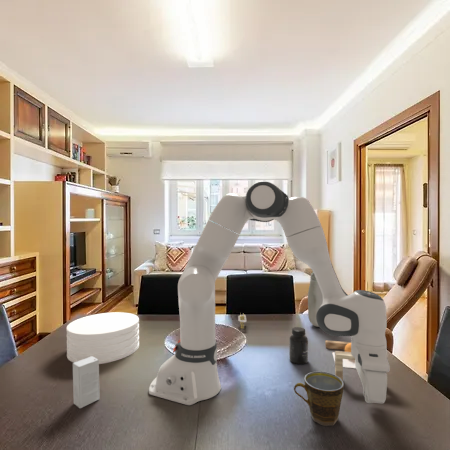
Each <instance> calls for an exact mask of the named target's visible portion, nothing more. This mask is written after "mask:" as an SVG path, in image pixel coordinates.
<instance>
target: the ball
mask: <svg viewBox="0 0 450 450" xmlns="http://www.w3.org/2000/svg"><path fill="white" fill-rule="evenodd" d="M344 352H351V343H348V344H347V345H346V346H345V350H344Z"/></svg>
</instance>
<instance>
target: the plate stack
mask: <svg viewBox="0 0 450 450" xmlns="http://www.w3.org/2000/svg"><path fill="white" fill-rule="evenodd" d="M139 347H140V318H139V316H138V315H136V314H134V313H131V312H123V311H119V312H118V311H117V312H115V311H114V312H113V311H112V312H101V313H96V314H90V315H87V316H84V317H83V316H82V317H80V318H78V319H75V320H73V321H71V322H70V323H68V324H67V325H66V357H67V360H68V361H70V362H71V363H75V362H77V361H80V360H83V359H86V358H88V357H91V356H93V357H95V358H96V359H98V360H99V365H101V364H109V363H111V362H115V361H118V360H121V359H124V358H127V357H128V356H131V355H132V354H134V353H135V352H137V350H138V349H139Z"/></svg>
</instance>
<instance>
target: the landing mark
mask: <svg viewBox="0 0 450 450" xmlns="http://www.w3.org/2000/svg"><path fill="white" fill-rule="evenodd" d="M332 357H333V361H334V362H335V351H334V352H333V351H332ZM345 368H346V369H353V370H357V369H356V367H355V360H349V359H343V369H345Z"/></svg>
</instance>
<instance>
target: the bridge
mask: <svg viewBox="0 0 450 450" xmlns="http://www.w3.org/2000/svg"><path fill="white" fill-rule="evenodd" d="M334 352H335V361H334V375H336V376H338V377H339V378H340V379H341V380H342V381H343V382H344V376H343V375H344V367H343V359H349V360H355V358H354V357H353V356H352V355H351V352H345V350H334Z"/></svg>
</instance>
